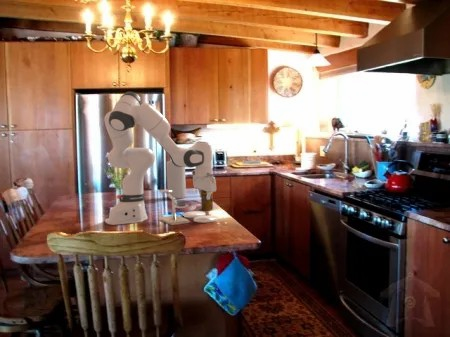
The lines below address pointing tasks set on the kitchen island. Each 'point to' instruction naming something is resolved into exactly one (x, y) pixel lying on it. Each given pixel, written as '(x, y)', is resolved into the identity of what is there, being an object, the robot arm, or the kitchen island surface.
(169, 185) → the cylinder vase
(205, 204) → the condiment
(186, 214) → the far dish
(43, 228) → the kitchen island surface
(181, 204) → the balance
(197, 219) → the near dish
